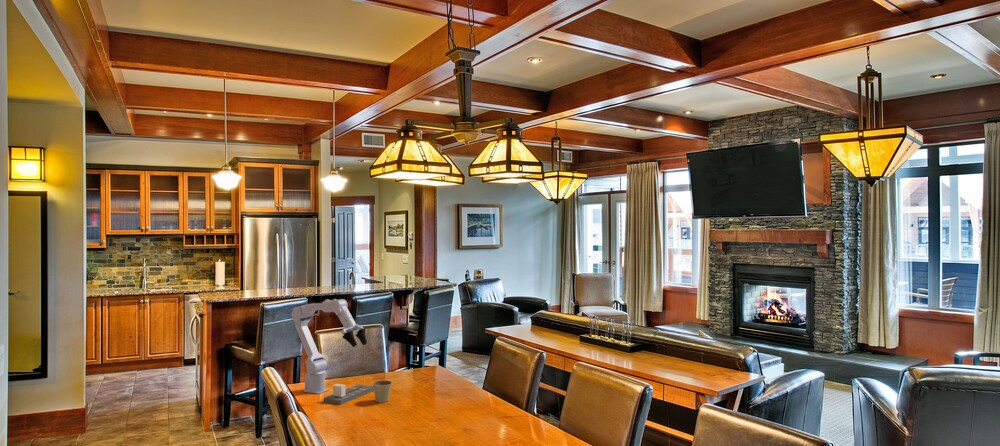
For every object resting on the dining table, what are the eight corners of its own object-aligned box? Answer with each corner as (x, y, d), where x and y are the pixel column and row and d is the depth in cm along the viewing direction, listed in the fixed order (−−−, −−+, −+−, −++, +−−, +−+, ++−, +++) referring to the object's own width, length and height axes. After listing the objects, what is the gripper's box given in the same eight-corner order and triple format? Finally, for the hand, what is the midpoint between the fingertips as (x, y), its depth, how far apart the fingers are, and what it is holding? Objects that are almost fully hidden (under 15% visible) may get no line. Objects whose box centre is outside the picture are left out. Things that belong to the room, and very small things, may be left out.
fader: (332, 395, 272) (332, 385, 272) (337, 394, 275) (337, 383, 275) (341, 396, 270) (341, 386, 270) (345, 395, 273) (345, 384, 273)
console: (323, 402, 270) (323, 397, 270) (358, 388, 294) (358, 384, 294) (340, 404, 266) (340, 400, 266) (374, 390, 290) (374, 386, 290)
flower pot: (394, 398, 276) (394, 380, 277) (388, 404, 267) (389, 385, 267) (375, 397, 277) (375, 379, 277) (369, 403, 268) (369, 385, 268)
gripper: (343, 317, 271) (356, 342, 267) (362, 315, 284) (375, 338, 280) (333, 326, 273) (346, 350, 269) (352, 323, 286) (365, 346, 282)
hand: (360, 345), depth 275 cm, fingers open, 7 cm apart
